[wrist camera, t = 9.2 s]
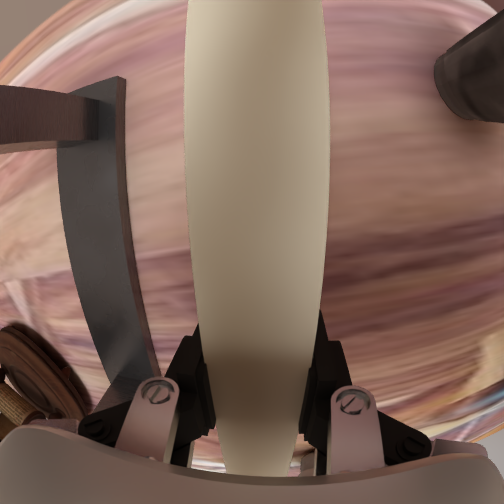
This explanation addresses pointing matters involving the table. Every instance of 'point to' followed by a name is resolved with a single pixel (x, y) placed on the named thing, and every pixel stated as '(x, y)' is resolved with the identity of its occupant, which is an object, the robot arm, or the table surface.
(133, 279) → the grey frame stand
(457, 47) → the beverage cup
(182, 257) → the table surface
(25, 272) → the table surface
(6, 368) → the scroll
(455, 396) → the table surface
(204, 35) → the maple bar
